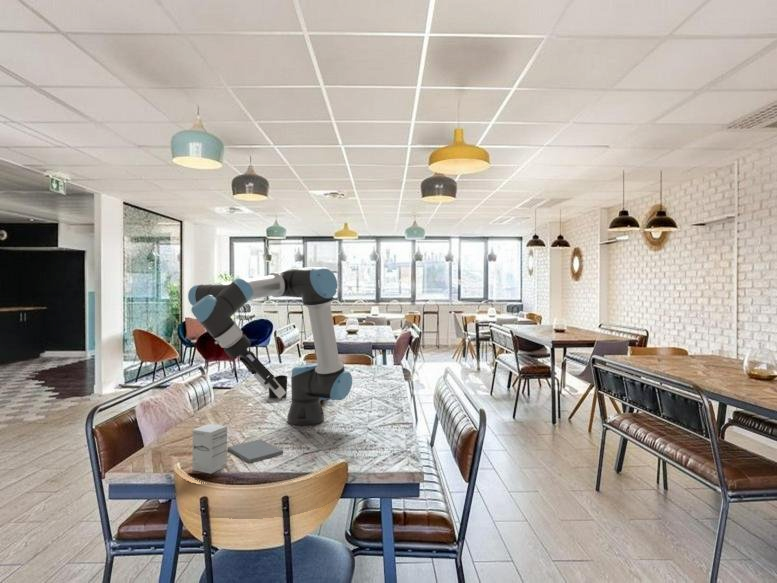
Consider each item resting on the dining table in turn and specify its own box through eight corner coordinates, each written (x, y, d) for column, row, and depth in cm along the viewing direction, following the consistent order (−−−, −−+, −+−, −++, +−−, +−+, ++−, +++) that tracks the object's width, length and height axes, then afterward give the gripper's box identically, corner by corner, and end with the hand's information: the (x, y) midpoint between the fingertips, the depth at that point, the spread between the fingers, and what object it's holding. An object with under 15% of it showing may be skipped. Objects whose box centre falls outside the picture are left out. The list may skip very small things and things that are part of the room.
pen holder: (284, 398, 232) (284, 378, 232) (266, 398, 232) (266, 378, 232) (289, 394, 242) (289, 375, 242) (271, 394, 242) (271, 375, 242)
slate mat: (227, 449, 159) (227, 446, 159) (260, 441, 167) (260, 439, 167) (249, 462, 147) (249, 459, 147) (283, 453, 156) (283, 450, 156)
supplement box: (191, 471, 141) (191, 429, 141) (209, 462, 148) (209, 422, 148) (210, 474, 138) (210, 432, 138) (228, 465, 145) (227, 425, 145)
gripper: (214, 344, 150) (255, 391, 157) (232, 354, 128) (279, 408, 135) (233, 329, 153) (272, 376, 160) (254, 336, 131) (298, 390, 138)
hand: (275, 391), depth 148 cm, fingers open, 13 cm apart
